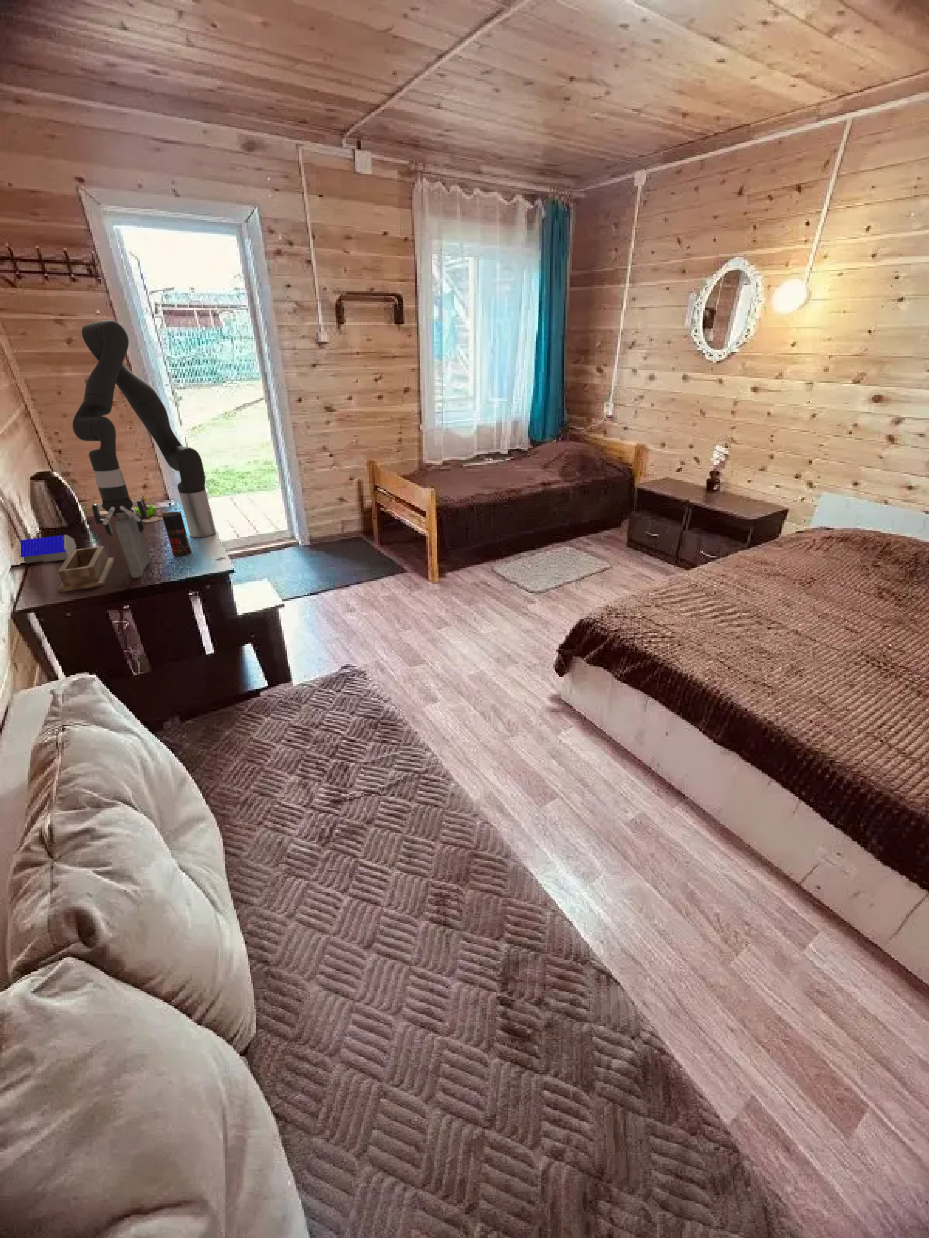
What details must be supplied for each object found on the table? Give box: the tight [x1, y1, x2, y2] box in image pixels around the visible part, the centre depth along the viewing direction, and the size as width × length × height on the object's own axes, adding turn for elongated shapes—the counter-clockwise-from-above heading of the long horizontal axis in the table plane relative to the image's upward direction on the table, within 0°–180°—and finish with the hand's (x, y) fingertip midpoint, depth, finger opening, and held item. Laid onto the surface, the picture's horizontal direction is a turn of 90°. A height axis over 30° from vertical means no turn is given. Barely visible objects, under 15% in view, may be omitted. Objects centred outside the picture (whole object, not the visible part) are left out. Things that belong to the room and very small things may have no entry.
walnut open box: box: [57, 545, 115, 593], centre depth 171 cm, size 12×24×6 cm, turn 24°
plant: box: [134, 495, 170, 525], centre depth 223 cm, size 20×20×11 cm
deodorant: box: [162, 511, 192, 558], centre depth 185 cm, size 6×6×15 cm
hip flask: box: [114, 512, 152, 579], centre depth 172 cm, size 16×4×20 cm, turn 17°
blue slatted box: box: [20, 534, 77, 564], centre depth 185 cm, size 22×14×7 cm, turn 112°
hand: (126, 533), depth 171 cm, fingers open, 8 cm apart
